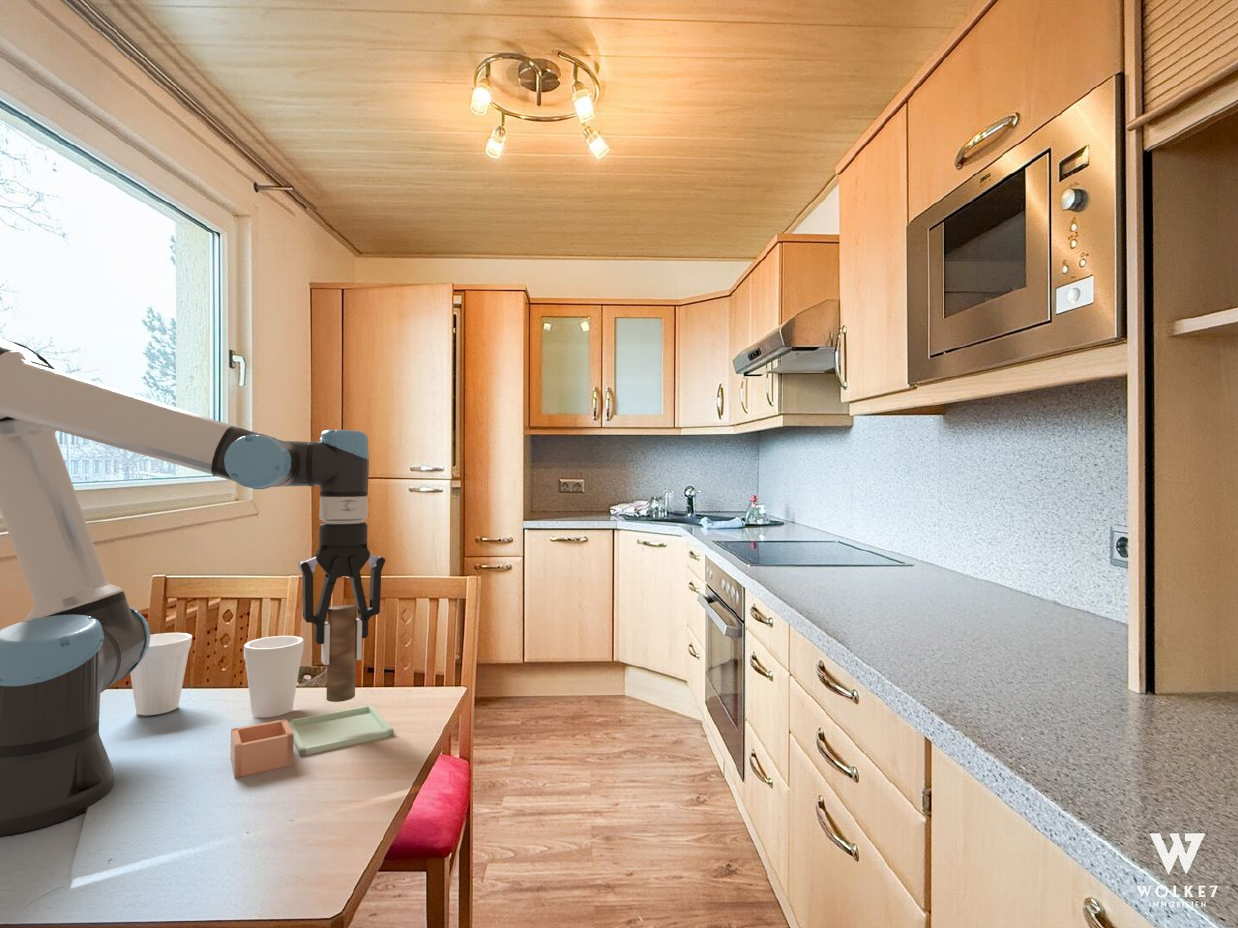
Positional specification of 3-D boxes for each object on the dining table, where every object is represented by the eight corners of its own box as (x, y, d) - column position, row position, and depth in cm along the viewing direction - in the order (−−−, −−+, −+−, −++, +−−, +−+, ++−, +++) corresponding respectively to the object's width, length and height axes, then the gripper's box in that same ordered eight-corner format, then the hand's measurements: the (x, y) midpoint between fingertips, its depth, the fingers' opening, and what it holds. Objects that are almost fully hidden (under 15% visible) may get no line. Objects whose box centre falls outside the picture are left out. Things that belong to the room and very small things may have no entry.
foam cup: (275, 726, 109) (277, 650, 109) (229, 721, 111) (231, 647, 111) (312, 707, 118) (314, 637, 118) (269, 703, 120) (271, 634, 120)
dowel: (329, 703, 103) (331, 611, 103) (324, 695, 107) (325, 606, 107) (357, 698, 106) (359, 608, 106) (351, 690, 109) (353, 604, 110)
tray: (299, 759, 96) (299, 749, 96) (286, 729, 108) (286, 720, 108) (393, 738, 104) (393, 729, 104) (371, 712, 116) (371, 704, 116)
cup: (164, 722, 110) (167, 646, 110) (108, 721, 110) (110, 645, 111) (203, 701, 120) (205, 632, 120) (151, 700, 120) (153, 631, 121)
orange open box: (234, 782, 89) (235, 746, 89) (230, 762, 95) (231, 729, 95) (292, 768, 93) (293, 734, 93) (285, 750, 99) (286, 718, 99)
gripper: (289, 524, 99) (286, 675, 98) (402, 521, 109) (400, 657, 108) (282, 521, 105) (280, 663, 104) (390, 518, 115) (388, 647, 114)
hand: (341, 659), depth 106 cm, fingers closed on dowel, 4 cm apart
